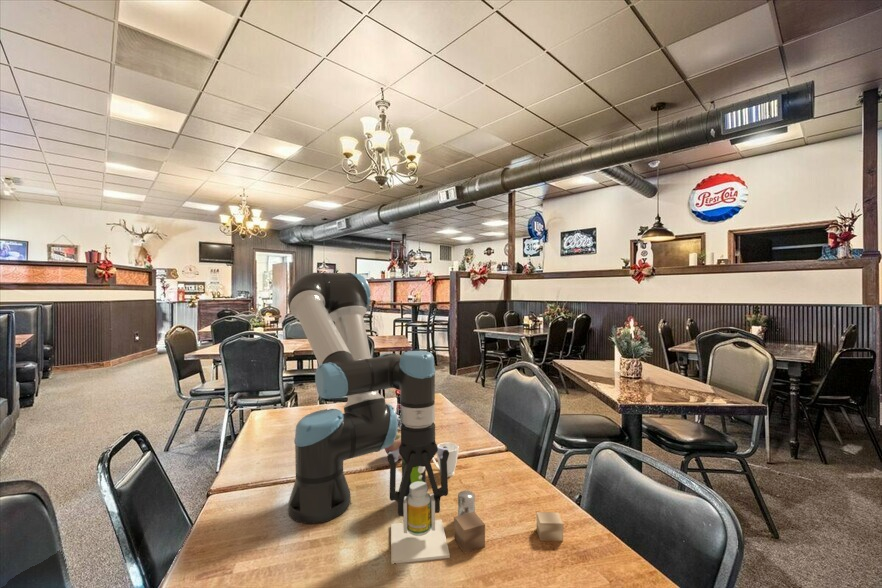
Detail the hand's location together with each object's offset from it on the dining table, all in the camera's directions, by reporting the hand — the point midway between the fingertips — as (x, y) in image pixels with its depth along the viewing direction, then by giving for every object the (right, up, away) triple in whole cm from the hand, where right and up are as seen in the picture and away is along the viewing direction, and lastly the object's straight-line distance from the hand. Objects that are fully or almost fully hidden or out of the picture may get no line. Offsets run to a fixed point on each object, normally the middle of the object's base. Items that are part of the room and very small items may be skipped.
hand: (419, 527), depth 82 cm
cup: (+6, -3, +31) cm, 32 cm away
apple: (-10, -3, +40) cm, 42 cm away
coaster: (0, -3, 0) cm, 3 cm away
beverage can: (-2, -3, +16) cm, 17 cm away
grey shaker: (+11, -3, +8) cm, 14 cm away
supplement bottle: (0, 0, 0) cm, 0 cm away
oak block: (+29, -3, +2) cm, 30 cm away
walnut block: (+11, -3, 0) cm, 12 cm away
